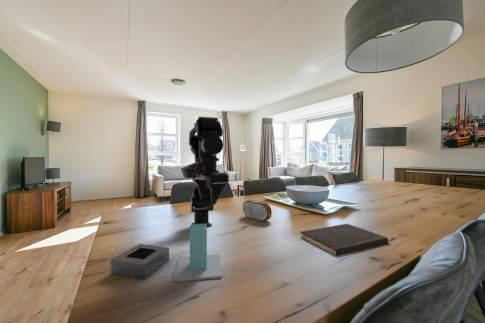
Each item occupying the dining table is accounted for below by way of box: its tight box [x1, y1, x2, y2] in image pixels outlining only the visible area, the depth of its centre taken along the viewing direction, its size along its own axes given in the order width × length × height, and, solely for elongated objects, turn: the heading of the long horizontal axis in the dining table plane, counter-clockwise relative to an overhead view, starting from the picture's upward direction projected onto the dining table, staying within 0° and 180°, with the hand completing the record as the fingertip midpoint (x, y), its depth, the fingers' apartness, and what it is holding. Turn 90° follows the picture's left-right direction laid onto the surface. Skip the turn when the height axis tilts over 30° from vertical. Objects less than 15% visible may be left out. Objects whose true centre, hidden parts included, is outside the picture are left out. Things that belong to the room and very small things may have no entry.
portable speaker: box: [242, 198, 273, 222], centre depth 95 cm, size 15×3×8 cm, turn 47°
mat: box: [172, 253, 223, 283], centre depth 54 cm, size 11×11×1 cm
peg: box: [189, 224, 208, 271], centre depth 54 cm, size 4×4×10 cm
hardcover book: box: [299, 223, 389, 257], centre depth 72 cm, size 16×23×2 cm
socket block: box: [110, 243, 170, 281], centre depth 54 cm, size 9×9×4 cm
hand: (207, 201), depth 71 cm, fingers open, 9 cm apart
